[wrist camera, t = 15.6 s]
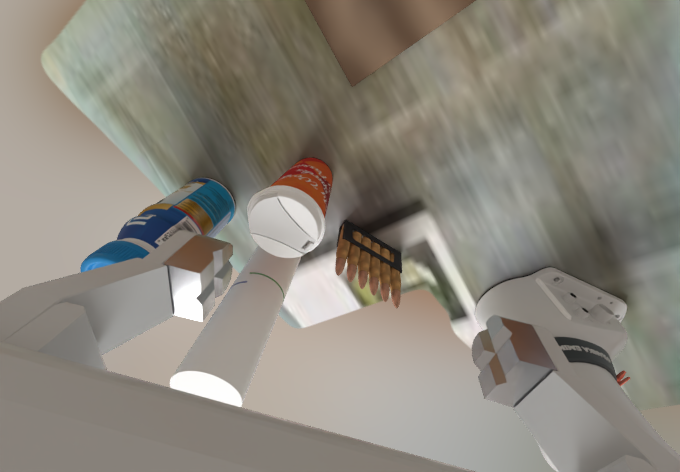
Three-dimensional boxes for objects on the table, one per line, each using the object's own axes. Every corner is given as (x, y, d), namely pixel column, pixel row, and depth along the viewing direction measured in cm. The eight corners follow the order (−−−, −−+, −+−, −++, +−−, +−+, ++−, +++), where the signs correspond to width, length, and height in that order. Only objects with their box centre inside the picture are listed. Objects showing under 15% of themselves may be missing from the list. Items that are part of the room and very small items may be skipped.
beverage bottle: (234, 231, 48) (155, 323, 31) (185, 215, 48) (77, 300, 31) (240, 185, 44) (152, 265, 27) (185, 167, 43) (60, 237, 26)
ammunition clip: (339, 228, 46) (327, 276, 35) (345, 219, 45) (335, 266, 34) (394, 260, 48) (398, 315, 37) (401, 253, 47) (407, 307, 36)
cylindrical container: (253, 237, 48) (154, 375, 27) (291, 227, 46) (216, 366, 25) (272, 270, 52) (197, 416, 30) (308, 261, 50) (255, 411, 28)
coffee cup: (352, 174, 41) (339, 226, 28) (318, 213, 45) (294, 275, 32) (303, 135, 39) (266, 172, 26) (273, 180, 43) (227, 231, 30)
